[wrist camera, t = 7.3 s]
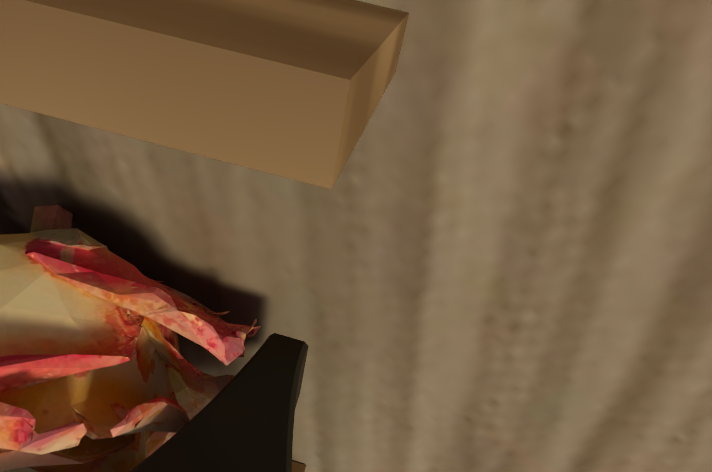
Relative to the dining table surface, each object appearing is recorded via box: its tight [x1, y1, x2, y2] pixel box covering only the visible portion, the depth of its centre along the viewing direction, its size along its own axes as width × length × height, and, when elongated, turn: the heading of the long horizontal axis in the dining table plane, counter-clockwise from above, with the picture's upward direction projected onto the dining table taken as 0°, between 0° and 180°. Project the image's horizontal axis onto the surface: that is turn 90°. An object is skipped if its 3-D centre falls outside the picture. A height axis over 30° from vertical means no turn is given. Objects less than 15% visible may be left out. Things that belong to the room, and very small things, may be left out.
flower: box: [0, 205, 261, 472], centre depth 10 cm, size 9×9×7 cm
